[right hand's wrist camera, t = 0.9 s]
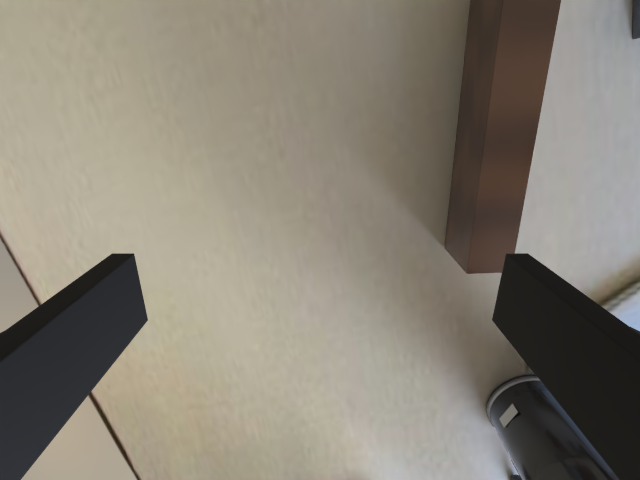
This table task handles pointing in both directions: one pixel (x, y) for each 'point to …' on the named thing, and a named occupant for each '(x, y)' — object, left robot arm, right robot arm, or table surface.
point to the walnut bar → (497, 127)
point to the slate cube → (636, 19)
